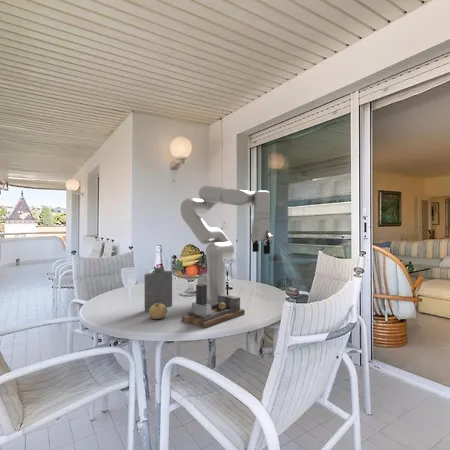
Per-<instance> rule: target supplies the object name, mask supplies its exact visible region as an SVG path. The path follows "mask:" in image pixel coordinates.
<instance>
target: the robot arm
mask: <svg viewBox="0 0 450 450" xmlns="http://www.w3.org/2000/svg"><path fill="white" fill-rule="evenodd" d="M198 196H199V198H196V197H194V198H193V197H190V198H186V199H184V200H183V201H182V202H181V204H180V208H179V209H180V215H181V218H182V219H183V221H184V222H185V224H186V225H187V226H188V228H189V229H190V230H191V231H192V233H193V235H194V237H196V238H197V240H198V241H199V243H200V244H202V245H205V246H206V245H207V246H206V248H205V258H206V266H207V267H206V269H207V275H206V276H207V304H210V305H211V306H212V305H216V304H218V295H220V294H225V295H227V294H226V292H227V290H226V287H227V286H226V284H227V283H226V265H225V261H224V260H228V259H230V258H232V257H233V256H234V253H235V247H234V245H233V244H232V242H231V240H230V239H229V238H228V237H227V235H226V233H225V232H224V231H223V230H222V229H221V228H219V227H217V226H209V225H208V224H207V223H206V222H205V220H204V219H203V218H202V217H201V216H199V215H201V214H207V213H209V211H211V210H212V209H213V208H214V207H215V206H216V205H217V204H221V205H222V204H223V205H233V206H237V207H239V206H240V207H250V208H251V207H253V220H252V226H251V234H250V238H251V244H252V252H253V253H255V252H257V253H258V252H259V251H260V250H259V248H260V247H259V245H260V244H259V242H263V244H264V245H263V254H264V255H270V254H271V245H272V242H273V238H274V237H273V235H272V234H271V222H270V216H271V215H270V213H271V212H270V210H271V209H270V205H271V204H270V203H271V202H270V201H271V200H270V199H271V194H270V191H268V190H257V191H250V190H246V189H245V190H243V189H235V188H228V187H223V186H216V185H203V186H201V187H200V188H199V191H198Z"/></svg>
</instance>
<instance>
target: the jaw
mask: <svg viewBox="0 0 450 450" xmlns="http://www.w3.org/2000/svg"><path fill="white" fill-rule="evenodd" d="M211 306H212V305H210V304H207V285H205V284H199V285H197V284H196V285H195V301H194V302H191V311H192V314H196V315H200V316H203V317H206V316H209V315H211Z"/></svg>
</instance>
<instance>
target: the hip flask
mask: <svg viewBox="0 0 450 450" xmlns="http://www.w3.org/2000/svg"><path fill="white" fill-rule="evenodd" d="M153 269H154V272H149V273H146V274H144V312H145V313H149V309H150V308H151V306H152V305H154V303H161V304H163V305H165V306H166V308H169V307H173V271H172V270H163V269H162V267H159V266H158V267H154V268H153Z"/></svg>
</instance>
